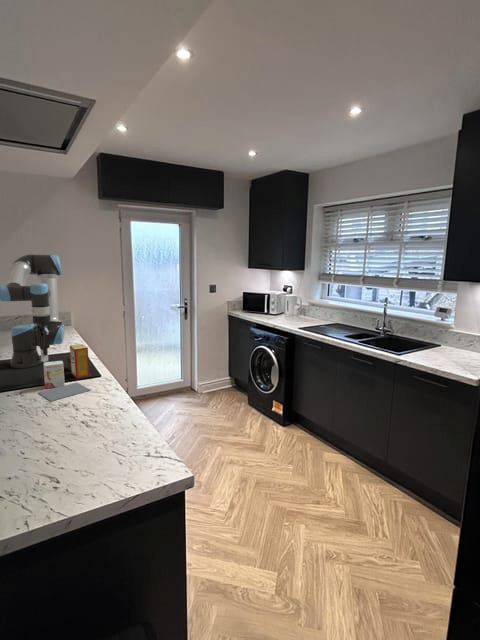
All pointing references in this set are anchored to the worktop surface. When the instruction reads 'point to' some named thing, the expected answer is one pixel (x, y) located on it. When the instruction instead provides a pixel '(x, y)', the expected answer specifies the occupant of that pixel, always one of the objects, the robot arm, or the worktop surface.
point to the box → (69, 363)
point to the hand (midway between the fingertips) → (45, 361)
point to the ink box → (53, 374)
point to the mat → (64, 391)
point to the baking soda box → (79, 360)
